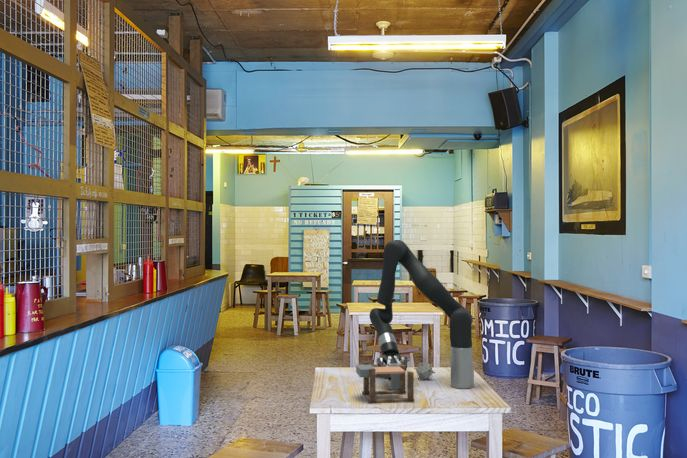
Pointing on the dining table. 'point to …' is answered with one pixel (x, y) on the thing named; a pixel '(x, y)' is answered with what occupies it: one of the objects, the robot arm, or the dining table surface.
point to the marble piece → (380, 374)
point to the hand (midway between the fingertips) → (396, 378)
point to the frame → (370, 390)
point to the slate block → (394, 378)
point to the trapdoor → (377, 370)
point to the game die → (424, 370)
